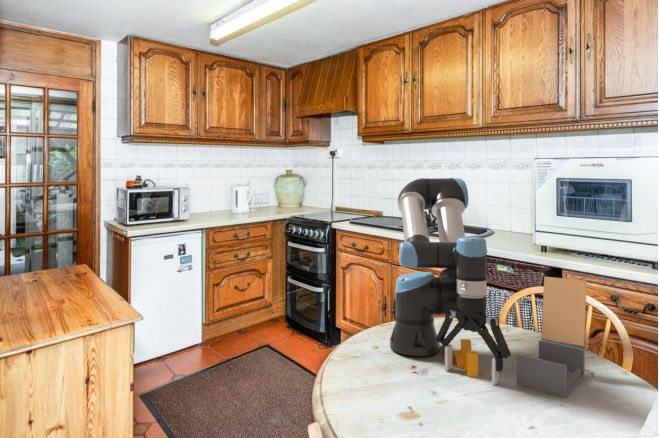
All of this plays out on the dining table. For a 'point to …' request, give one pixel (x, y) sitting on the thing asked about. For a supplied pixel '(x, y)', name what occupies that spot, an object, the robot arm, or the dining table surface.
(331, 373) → the dining table surface
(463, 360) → the pipe clamp
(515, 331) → the dining table surface
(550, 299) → the tan rectangular panel
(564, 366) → the housing
